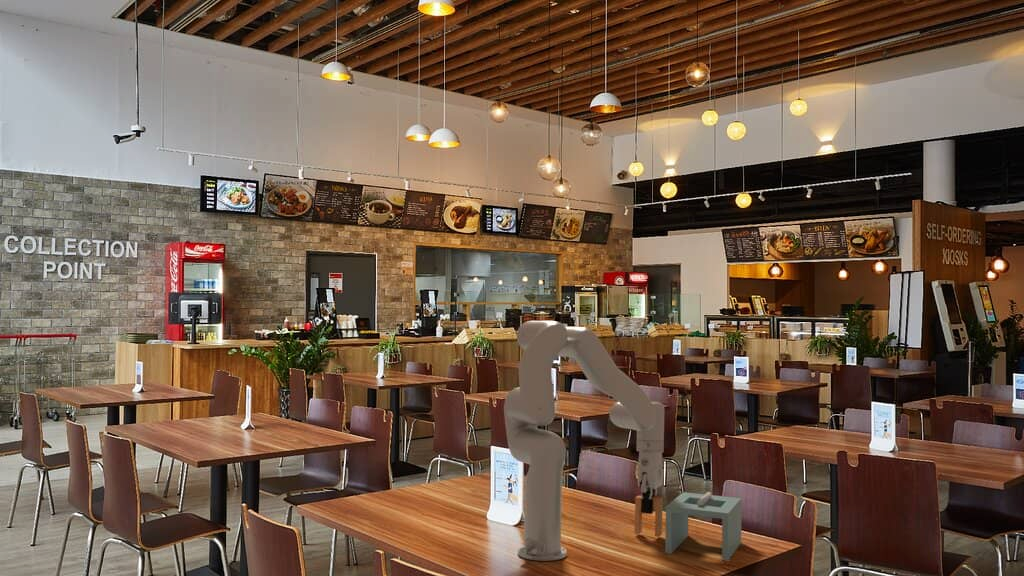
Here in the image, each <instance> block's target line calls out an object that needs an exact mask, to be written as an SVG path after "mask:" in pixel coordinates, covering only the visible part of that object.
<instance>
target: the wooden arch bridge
mask: <svg viewBox="0 0 1024 576" xmlns="http://www.w3.org/2000/svg"><path fill="white" fill-rule="evenodd" d="M652 499H653V510H654V511H655V512H654V511H653V512H654V513H655V517H654V537H658V538H660V537H661V536H662V535H663V509H664V508H663V501H664V500H663V499H664V498H663V497H657V498H655V496H654V497H652ZM634 501H635V502H634V506H635V508H634V509H635V510H634V534H636V535H639V534H641V533H643V531H642V529H643V513H642V512H641V495H637V496H635V499H634Z"/></svg>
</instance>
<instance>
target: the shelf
mask: <svg viewBox="0 0 1024 576" xmlns="http://www.w3.org/2000/svg"><path fill="white" fill-rule="evenodd" d="M690 516H697V517H705V518H714V519H722V520H721V552H722V553H721V560H724V561H723V562H729V561H730V560H729V559H731V558H732V557H733V555H734V554H735V552H736V551H737V550H738V548H739V547H740V545H741V544H742V498H741V497H734V496H733V497H732V496H723V495H714V494H713V493H712V492H711V491H707V492H706V493H705V494H704V493H695V492H684V491H683V492H682V493H681V494H680V495H678V496H677V497H676V498H674V499H673V500H672V501H670V502H669V503H668V504H666V506H665V550H664V551H665V554H670V555H671V554H673V552H674V551H675V550H676V549H677V548H679V546H680V545H681V544H683V542H684V541H685V540H686V539H687V538H688V537H689V528H690V527H689V526H690V525H689V521H690V520H689V517H690ZM733 553H734V554H733ZM731 556H732V557H731ZM730 557H731V558H730ZM728 560H729V561H728Z"/></svg>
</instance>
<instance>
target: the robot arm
mask: <svg viewBox="0 0 1024 576" xmlns="http://www.w3.org/2000/svg"><path fill="white" fill-rule="evenodd" d="M516 341H517V343H518V346H519V347H520V348H521V349H522V350H524V351H523V354H522V355H521V358H520V360H519V364H518V384H519V387H518V386H517V387H515V388H513V389H512V390H510V391H509V392H508V394H507V395H506V397H505V400H504V403H503V413H504V414H503V416H504V425H505V432H506V440H507V445H508V449H509V452H510V454H511V455H512V457H513V458H514V459H515V460H516V461H518V462H521V463H524V464H527V465H529V467H528V471H527V473H526V477H525V481H524V515H523V516H524V519H523V520H524V524H523V527H524V529H523V531H524V532H523V545H520V546H519V547H518V548H517V555H519V556H520V557H521V558H522V559H526V560H530V561H537V562H549V561H550V562H551V561H552V562H553V561H558V560H561V559H564V558H566V557H567V555H568V550H567V549H566V547H564V546H562V492H563V491H562V484H563V483H562V482H563V471H564V467H565V466H564V465H565V460H566V455H567V453H566V451H567V448H566V444H565V441H564V440H563V439H562V437H561V436H560V435H558V434H557V433H555V432H553V431H550V430H547V429H546V430H545V429H542V428H538V427H544V426H547V425H550V424H551V423H552V422H553V421H554V419H555V417H556V401H555V394H554V386H553V378H552V374H553V373H552V369H553V365H554V364H553V363H554V362H555V359H556V358H557V357H560V358H561V357H563V358H573V360H574V361H575V362H576V364H577V365H578V367H579V368H580V370H581V371H582V373H583V374H584V377H586V379H587V380H588V382H589V384H590V385H592V387H593V388H595V389H597V390H598V391H600V392H601V393H604V394H606V395H607V396H610V397H612V398H613V399H614V400H616V401H617V402H615V403H614V404H613V405H612V406H611V407H610V410H609V411H608V413H609V419H610V421H611V422H612V423H613V425H615V426H616V427H619V428H621V429H628V430H633V431H636V451H637V452H638V465H637V466H638V467H637V486H638V487H639V488H640V492H641V494H640V496H641V512H642V514H648V515H653V513H655V511H654V510H653V499H652V497H655V498H658V497H657V495H658V490H657V489H658V488H659V487H660V486H662V485H663V484H664V476H663V475H664V474H663V472H664V471H663V469H664V467H663V464H664V463H663V453H665V451H664V445H665V443H664V441H665V439H664V438H665V405H664V404H663V403H662V402H660V401H652V400H650V398H649V396H648V395H647V393H646V392H645V391H644V390H643V389H642V387H640V385H639V384H638V383H636V382H635V381H634V380H633V379H631V377H629V376H628V375H627V374H626V373H625V372H623V370H621V369H620V368H619V367H618V365H616V363H615V362H614V360H613V359H612V357H611V355H610V354H609V352H608V350H607V349H606V347H605V346H604V345H603V343H602V342H601V340H600V338H599V336H598V335H597V334H596V332H594V331H593V330H592V329H590V327H589V328H588V327H584V326H565V325H564V323H562V322H559V321H555V320H527V321H526V322H524V323H522V324H521V325H520V326H519V327H518V329H517V332H516Z"/></svg>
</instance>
